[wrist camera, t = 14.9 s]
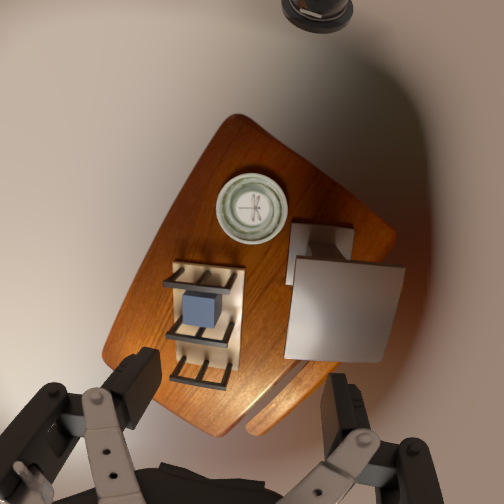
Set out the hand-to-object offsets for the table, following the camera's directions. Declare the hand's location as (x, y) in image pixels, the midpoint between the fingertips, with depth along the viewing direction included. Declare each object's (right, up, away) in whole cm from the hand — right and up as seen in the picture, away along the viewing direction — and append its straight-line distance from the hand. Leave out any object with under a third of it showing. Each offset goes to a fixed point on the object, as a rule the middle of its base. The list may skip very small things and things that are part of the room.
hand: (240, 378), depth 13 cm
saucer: (+1, +12, +29) cm, 31 cm away
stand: (+10, +5, +29) cm, 31 cm away
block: (-6, -1, +32) cm, 32 cm away
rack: (-7, -5, +34) cm, 35 cm away
